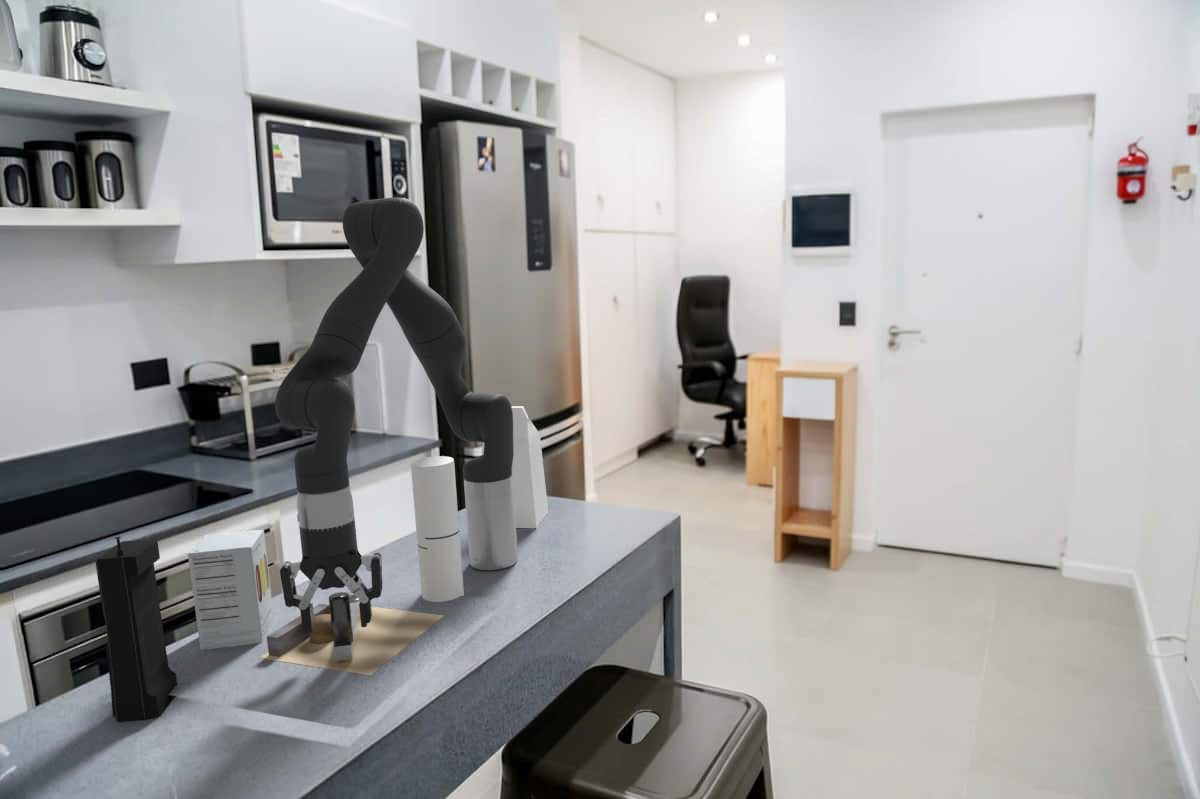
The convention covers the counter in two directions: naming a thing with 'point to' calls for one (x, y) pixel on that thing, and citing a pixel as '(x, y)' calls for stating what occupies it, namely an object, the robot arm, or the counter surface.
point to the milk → (527, 472)
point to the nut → (322, 629)
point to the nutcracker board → (372, 643)
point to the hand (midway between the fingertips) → (338, 627)
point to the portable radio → (134, 631)
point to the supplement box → (231, 589)
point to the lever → (344, 624)
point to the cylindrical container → (437, 528)
